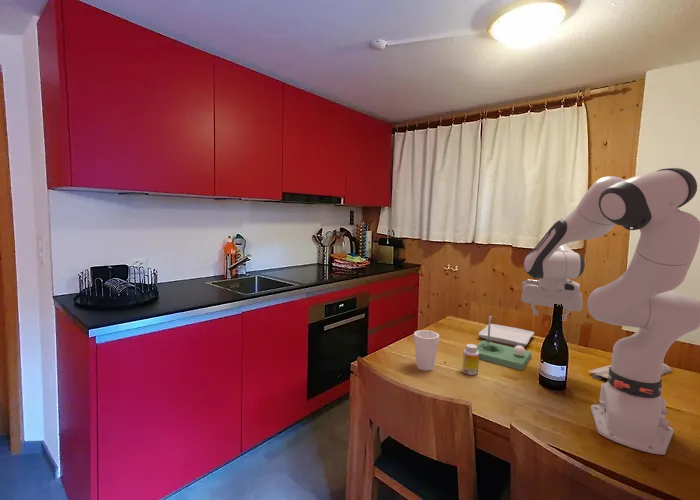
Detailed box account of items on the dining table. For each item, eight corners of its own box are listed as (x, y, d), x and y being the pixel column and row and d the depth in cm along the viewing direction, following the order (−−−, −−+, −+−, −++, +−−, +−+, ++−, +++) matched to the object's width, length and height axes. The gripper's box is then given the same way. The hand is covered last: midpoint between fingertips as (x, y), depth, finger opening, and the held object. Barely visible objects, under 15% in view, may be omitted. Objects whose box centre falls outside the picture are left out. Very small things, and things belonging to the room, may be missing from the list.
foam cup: (432, 374, 129) (434, 340, 128) (409, 368, 134) (410, 335, 133) (440, 365, 137) (442, 333, 136) (418, 359, 142) (419, 328, 141)
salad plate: (489, 328, 183) (489, 322, 183) (534, 337, 171) (535, 331, 170) (477, 340, 166) (477, 333, 166) (526, 351, 154) (527, 343, 153)
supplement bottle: (480, 375, 129) (482, 348, 128) (465, 375, 129) (467, 348, 128) (474, 368, 135) (476, 343, 134) (460, 368, 135) (461, 342, 134)
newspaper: (623, 391, 120) (624, 381, 120) (585, 376, 132) (586, 367, 131) (673, 372, 136) (674, 363, 136) (635, 359, 147) (636, 351, 147)
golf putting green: (522, 370, 134) (522, 364, 134) (469, 356, 146) (470, 350, 146) (531, 357, 146) (531, 351, 146) (482, 345, 159) (482, 340, 158)
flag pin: (488, 343, 155) (490, 316, 154) (487, 342, 155) (488, 316, 154) (491, 340, 158) (493, 314, 156) (489, 340, 158) (491, 314, 157)
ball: (523, 358, 139) (524, 348, 138) (512, 356, 141) (512, 345, 141) (525, 355, 142) (526, 345, 142) (514, 352, 145) (515, 343, 144)
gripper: (520, 279, 137) (517, 314, 138) (583, 287, 124) (579, 325, 126) (524, 277, 141) (521, 310, 143) (584, 284, 129) (581, 321, 131)
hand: (549, 317), depth 134 cm, fingers open, 8 cm apart
